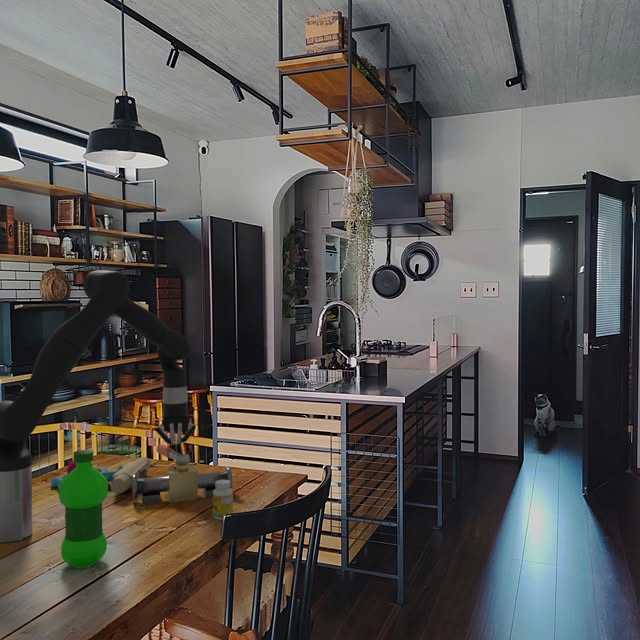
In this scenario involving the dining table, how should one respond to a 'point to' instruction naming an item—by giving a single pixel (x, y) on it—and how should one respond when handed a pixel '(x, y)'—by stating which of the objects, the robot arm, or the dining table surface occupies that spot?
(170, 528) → the dining table surface
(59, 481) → the butterfly valve
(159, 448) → the valve lever
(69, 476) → the plastic bottle
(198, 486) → the pipe valve
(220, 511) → the supplement bottle
